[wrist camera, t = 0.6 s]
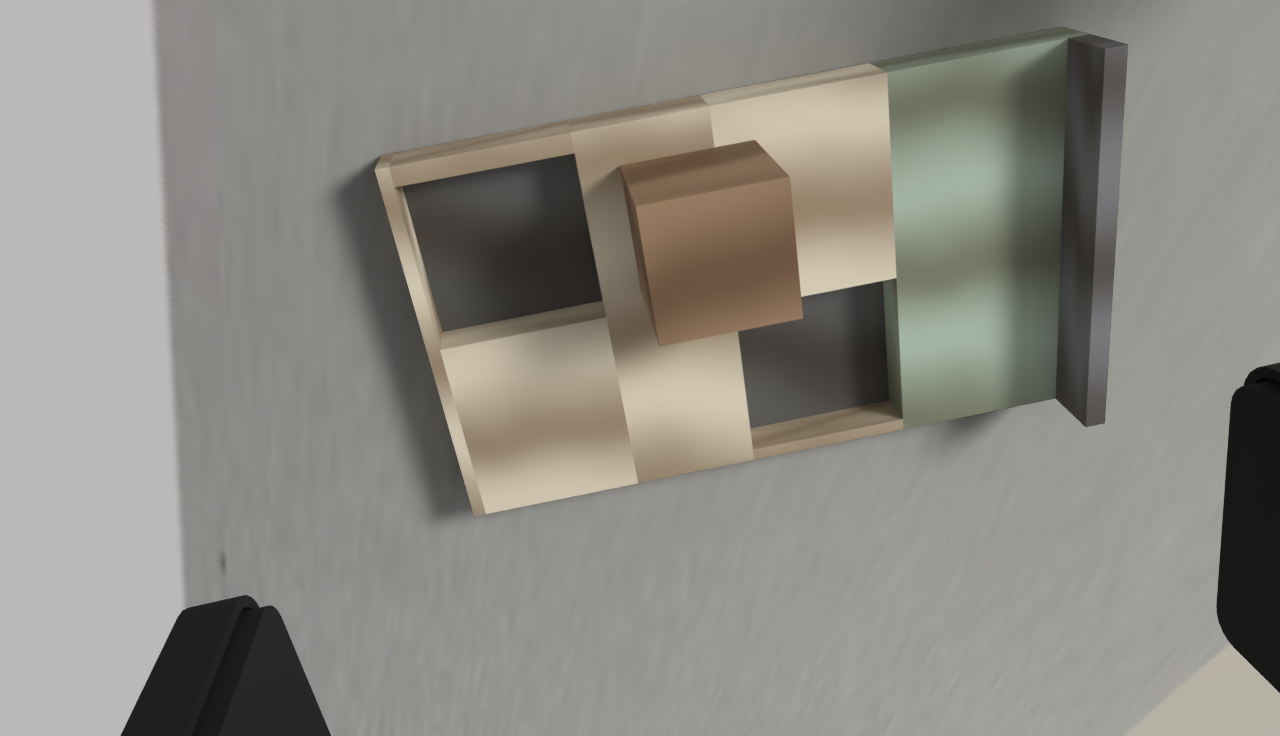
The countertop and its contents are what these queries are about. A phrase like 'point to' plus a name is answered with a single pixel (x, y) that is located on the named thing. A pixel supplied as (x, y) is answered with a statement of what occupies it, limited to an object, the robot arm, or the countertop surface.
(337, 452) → the countertop surface
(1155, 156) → the countertop surface
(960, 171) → the trap board
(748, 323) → the walnut block
